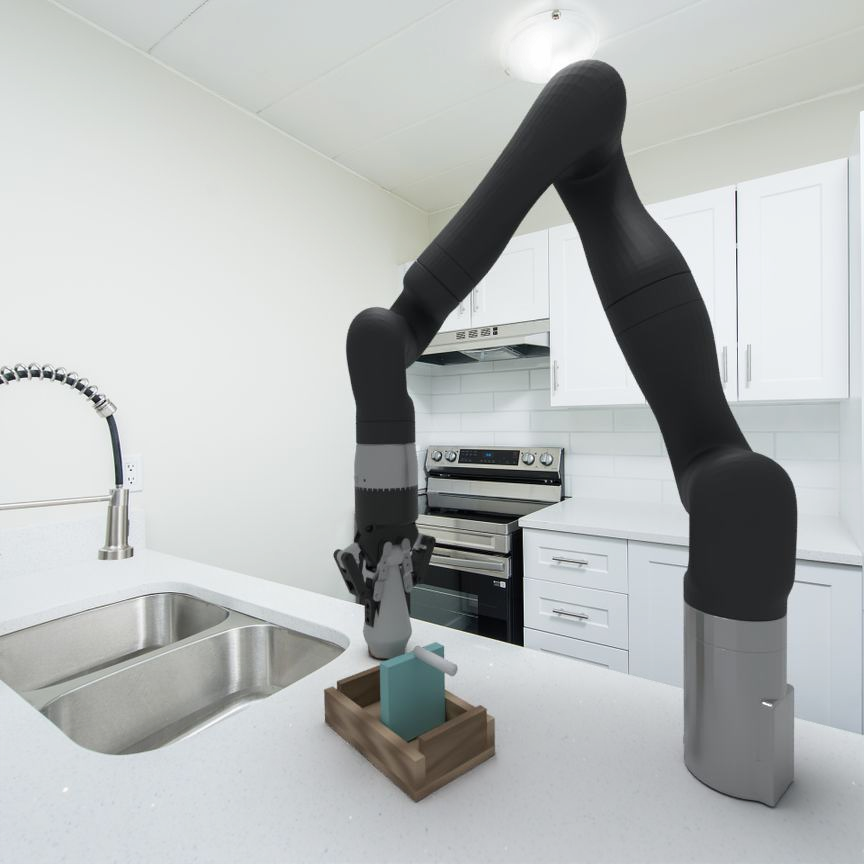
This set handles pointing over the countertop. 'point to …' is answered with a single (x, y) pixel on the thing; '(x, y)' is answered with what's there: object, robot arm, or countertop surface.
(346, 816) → the countertop surface
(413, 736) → the pusher paddle
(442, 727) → the wooden tray
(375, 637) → the salt shaker
